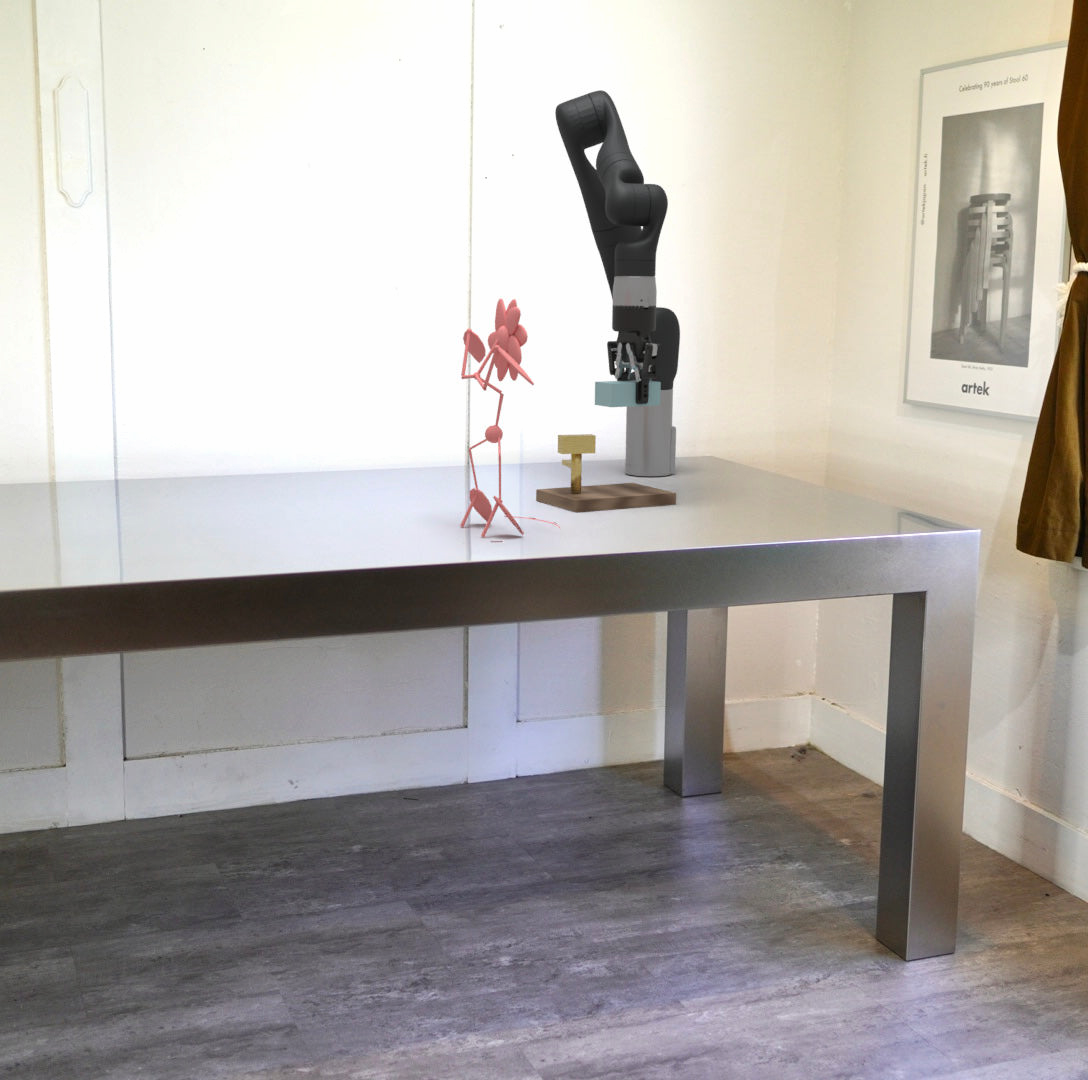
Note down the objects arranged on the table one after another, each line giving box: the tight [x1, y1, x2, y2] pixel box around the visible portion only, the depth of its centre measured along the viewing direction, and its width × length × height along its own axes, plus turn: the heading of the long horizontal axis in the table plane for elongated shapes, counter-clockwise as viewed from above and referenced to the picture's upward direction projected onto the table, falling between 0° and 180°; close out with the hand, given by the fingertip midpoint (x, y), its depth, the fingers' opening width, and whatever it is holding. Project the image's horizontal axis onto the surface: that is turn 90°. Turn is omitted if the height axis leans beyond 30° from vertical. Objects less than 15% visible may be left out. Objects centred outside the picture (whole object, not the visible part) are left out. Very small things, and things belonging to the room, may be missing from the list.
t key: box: [557, 433, 597, 493], centre depth 231 cm, size 7×6×10 cm
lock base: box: [535, 482, 677, 513], centre depth 233 cm, size 20×14×2 cm
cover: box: [594, 380, 661, 408], centre depth 231 cm, size 10×5×4 cm, turn 119°
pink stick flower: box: [459, 298, 561, 543], centre depth 202 cm, size 15×26×35 cm, turn 24°
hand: (632, 401), depth 232 cm, fingers closed on cover, 5 cm apart
